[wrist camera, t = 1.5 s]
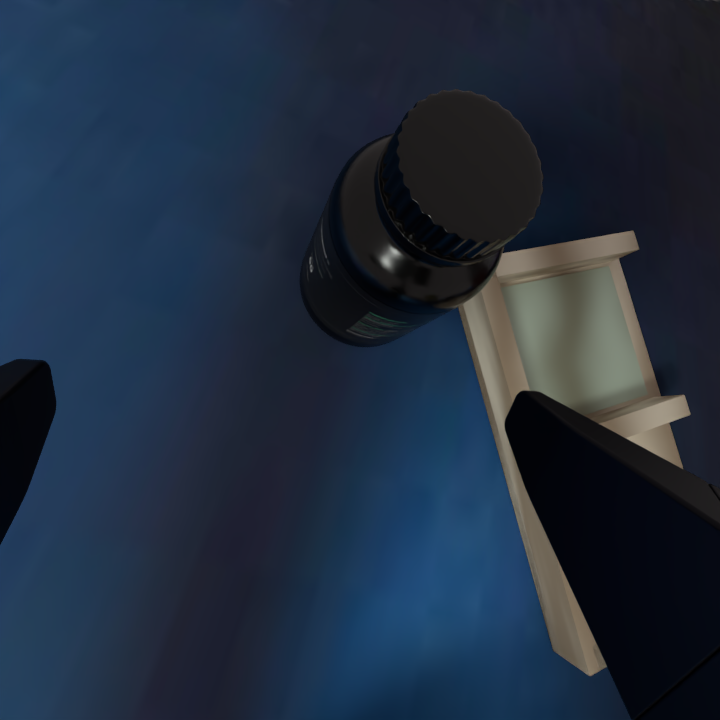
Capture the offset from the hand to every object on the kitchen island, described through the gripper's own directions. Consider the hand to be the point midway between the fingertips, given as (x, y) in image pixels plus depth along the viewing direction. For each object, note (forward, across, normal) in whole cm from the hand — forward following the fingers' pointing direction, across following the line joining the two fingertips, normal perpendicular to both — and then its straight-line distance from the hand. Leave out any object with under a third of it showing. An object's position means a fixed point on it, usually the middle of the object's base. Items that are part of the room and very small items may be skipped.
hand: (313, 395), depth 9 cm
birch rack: (+10, -19, +9) cm, 23 cm away
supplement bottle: (+15, -5, +4) cm, 16 cm away
